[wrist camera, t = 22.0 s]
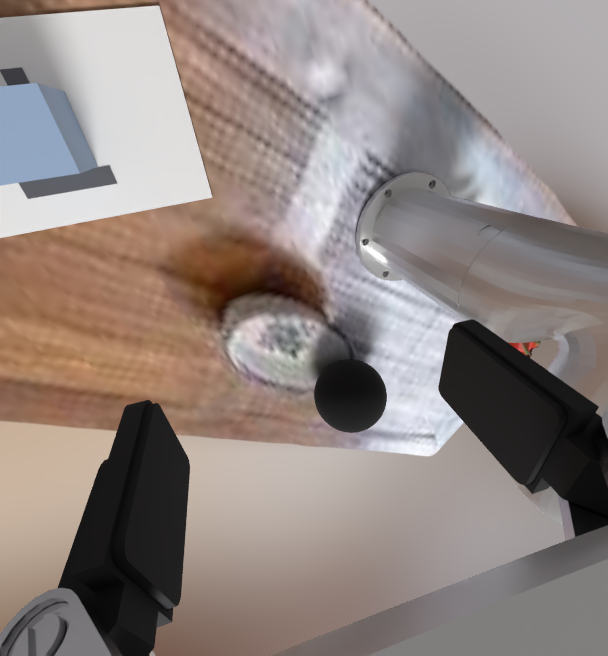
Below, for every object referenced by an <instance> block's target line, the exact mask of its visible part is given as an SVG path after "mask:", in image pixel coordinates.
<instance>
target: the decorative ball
mask: <svg viewBox="0 0 608 656" xmlns="http://www.w3.org/2000/svg"><path fill="white" fill-rule="evenodd" d="M314 398H315V404H316V407H317V410H318V412H319V414H320V415H321V417H322V418H323V419H324V421H325V422H326V423H328V424H329V425H330V426H332V427H333V428H335V429H337V430H340V431H343V432H350V433H353V432H360V431H364V430H366V429H368V428H370V427H371V426H373V425H374V424H375V423H376V422H377V421H378V420H379V419H380V417H381V416H382V414H383V412H384V410H385V406H386V401H387V393H386V388H385V384H384V382H383V380H382V378H381V376H380V375H379V374H378V372H377V371H376V370H375V369H374V368H372V367H371V366H370V365H368V364H366V363H364V362H362V361H359V360H353V359H345V360H340V361H337V362H335V363H333V364H331V365H329V366H328V367H327V368H326V369H325V370H324V371H323V372H322V373H321V374H320V376H319V378H318V380H317V382H316V386H315V391H314Z"/></svg>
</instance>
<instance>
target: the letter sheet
mask: <svg viewBox="0 0 608 656" xmlns="http://www.w3.org/2000/svg"><path fill="white" fill-rule="evenodd" d="M30 83H39V84H42V85H45V86H48V87H51V88H54V89H58V90H61V91H64V92H65V94H66V96H67V98H68V101H69V103H70V105H71V107H72V110H73V112H74V114H75V116H76V119H77V121H78V123H79V125H80V128H81V130H82V132H83V134H84V137H85V139H86V141H87V143H88V146H89V148H90V150H91V152H92V155H93V157H94V159H95V161H96V164H97V166H98V167H96V168H94V169H91V170H88V171H85V172H83V173H79V174H73V175H66V176H60V177H53V178H47V179H40V180H33V181H27V182H20V183H14V184H7V185H1V186H0V238H2V237H8V236H13V235H18V234H23V233H29V232H34V231H39V230H44V229H50V228H55V227H60V226H65V225H71V224H76V223H81V222H86V221H92V220H97V219H102V218H107V217H113V216H118V215H123V214H128V213H134V212H139V211H144V210H149V209H155V208H160V207H165V206H170V205H176V204H181V203H186V202H191V201H197V200H202V199H207V198H212V194H211V190H210V187H209V183H208V180H207V176H206V172H205V169H204V165H203V162H202V158H201V154H200V151H199V147H198V144H197V140H196V136H195V133H194V129H193V126H192V122H191V118H190V115H189V111H188V108H187V104H186V100H185V97H184V93H183V90H182V86H181V82H180V79H179V75H178V72H177V68H176V64H175V61H174V57H173V54H172V50H171V46H170V43H169V39H168V36H167V32H166V28H165V25H164V21H163V18H162V14H161V10H160V7H159V6H146V7H134V8H121V9H108V10H95V11H82V12H69V13H56V14H43V15H30V16H17V17H4V18H0V87H1V86H11V85H20V84H30Z"/></svg>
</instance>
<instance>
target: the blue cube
mask: <svg viewBox="0 0 608 656" xmlns="http://www.w3.org/2000/svg"><path fill="white" fill-rule="evenodd" d="M96 167H98V166H97V164H96V161H95V159H94V157H93V155H92V152H91V150H90V148H89V146H88V143H87V141H86V139H85V137H84V134H83V132H82V130H81V128H80V125H79V123H78V121H77V119H76V116H75V114H74V112H73V110H72V107H71V105H70V103H69V101H68V98H67V96H66V94H65V92H64V91H61V90H58V89H54V88H51V87H48V86H45V85H42V84H39V83H30V84H20V85H11V86H1V87H0V186H1V185H7V184H14V183H20V182H27V181H33V180H40V179H47V178H53V177H60V176H66V175H73V174H79V173H83V172H85V171H88V170H91V169H94V168H96Z"/></svg>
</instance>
